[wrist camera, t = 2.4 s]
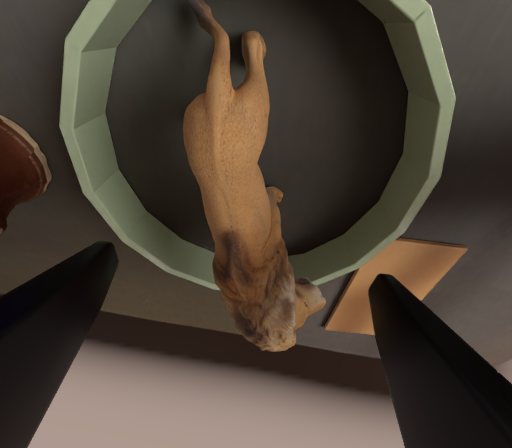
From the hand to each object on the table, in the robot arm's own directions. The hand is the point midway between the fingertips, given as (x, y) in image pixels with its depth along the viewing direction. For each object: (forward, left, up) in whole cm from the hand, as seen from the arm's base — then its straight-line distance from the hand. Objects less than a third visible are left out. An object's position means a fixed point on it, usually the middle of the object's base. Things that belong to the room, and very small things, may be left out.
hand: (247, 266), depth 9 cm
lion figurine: (0, 0, -9) cm, 9 cm away
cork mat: (-13, +11, -9) cm, 19 cm away
